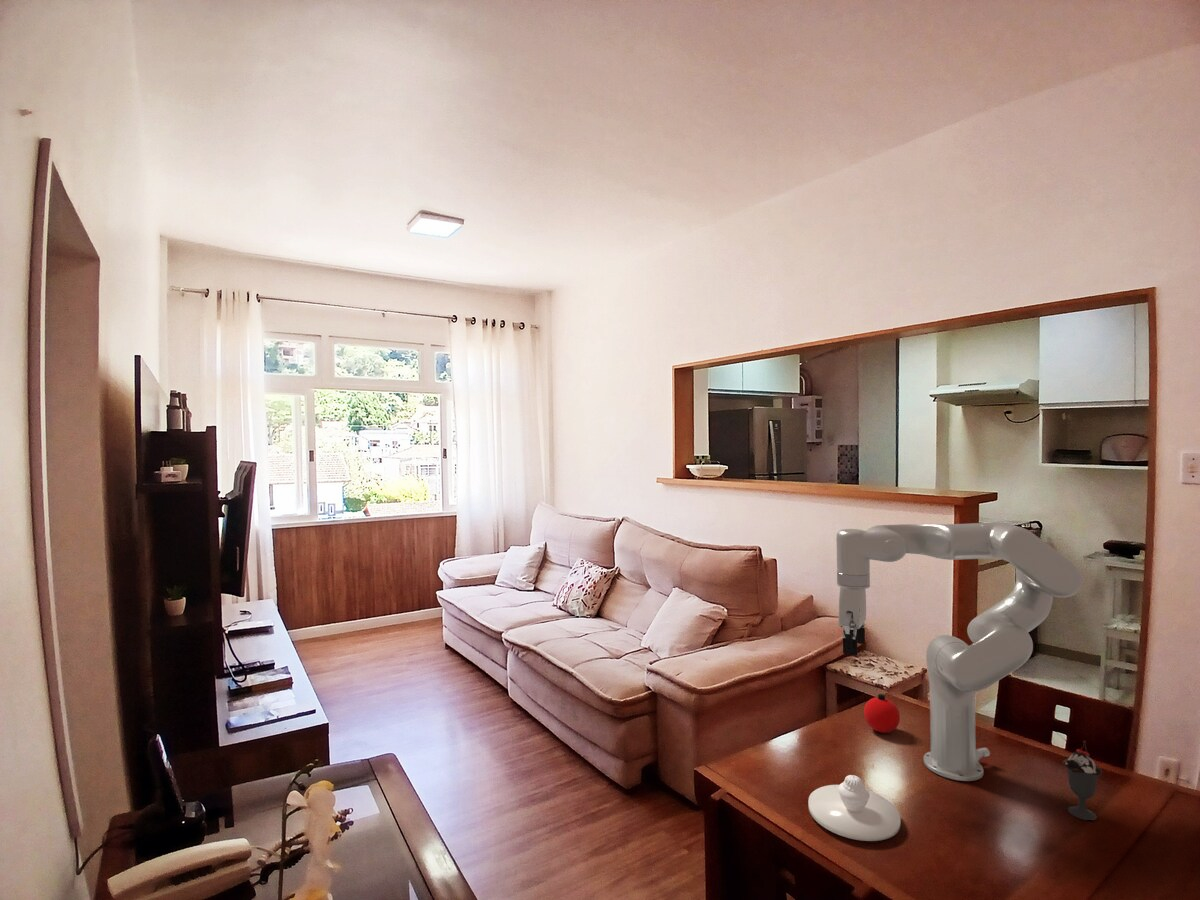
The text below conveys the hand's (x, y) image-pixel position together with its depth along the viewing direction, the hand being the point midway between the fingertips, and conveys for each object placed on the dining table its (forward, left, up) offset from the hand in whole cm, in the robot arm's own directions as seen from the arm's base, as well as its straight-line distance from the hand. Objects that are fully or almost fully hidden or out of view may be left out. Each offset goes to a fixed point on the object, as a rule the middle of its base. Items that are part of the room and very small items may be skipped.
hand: (854, 648), depth 152 cm
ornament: (-18, -11, -28) cm, 35 cm away
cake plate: (+16, +18, -28) cm, 37 cm away
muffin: (+16, +18, -27) cm, 36 cm away
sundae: (-30, +33, -28) cm, 53 cm away
